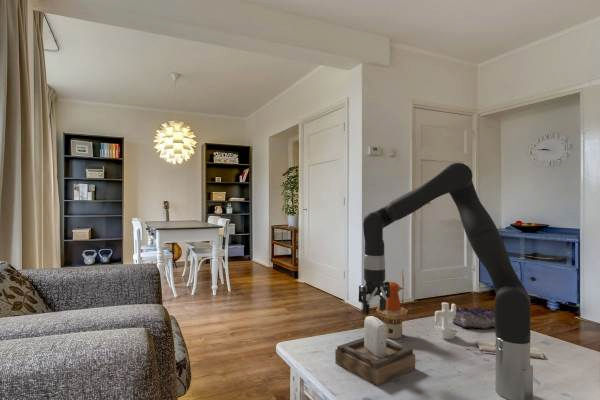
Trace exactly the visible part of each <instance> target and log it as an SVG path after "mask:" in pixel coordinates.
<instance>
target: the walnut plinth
mask: <svg viewBox="0 0 600 400" xmlns="http://www.w3.org/2000/svg"><path fill="white" fill-rule="evenodd" d="M336 348H337V349H335V354H334V355H335V364H336V365H338V366H340V367H341V368H343V369H345V370H348V371H349V372H351V373H353V374H355V375H357V376H358V377H360V378H361V379H364V380H366V381H368V382H369V383H371V384H373V385H376V386H378V387H379V386H380V385H383V384H385V383H387V382H389V381H391V380H394V379H396V378H398V377H400V376H402V375H405V374H406V373H408V372H411V371H413V370H415V369H416V354H415V353H414V349H413V348H410V347H404V346H402V345H399V344H396V343H394V342H392V341H390V340H387V339H386V356H385V357H382V358H379V357H376V356H375V355H374V354H372V353H371V352H370V351H369V350H367V349H366V348H365V347H364V337H362V338H358V339H355V340H352V341H350V342H345V343H343V344H340V345H337V347H336Z"/></svg>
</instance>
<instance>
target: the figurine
mask: <svg viewBox="0 0 600 400" xmlns="http://www.w3.org/2000/svg"><path fill="white" fill-rule="evenodd" d="M456 309H457V304H455V303H451V308H450V303H449V302H441V310H436V311H435V312H434V323H435V324H436V325H433V328H434V330H435V332H436V335H438V337H440V339H442V340H453V339H454V337H455V336H456V335H457V333H458V332H459V331H458V330H456V329H455V328H453V327H452V326H450V325H449V323H450V322H449V320H450V317H451V318H453V317H454V316H455V315H456ZM440 318H441V325H437V324H440Z"/></svg>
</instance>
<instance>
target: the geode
mask: <svg viewBox="0 0 600 400" xmlns="http://www.w3.org/2000/svg"><path fill="white" fill-rule="evenodd" d="M452 323H453V324H455V325H458V326H460V327H462V328H467V329H468V328H469V329H470V328H475V329H482V330H487V329H489V328H495V309H493V308H492V309H491V310H490V309H487V308H482V307H479V306H478V307H472V308H466V307H464V308H463V307H459V308H456V315H455V316H454V317H452Z"/></svg>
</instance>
